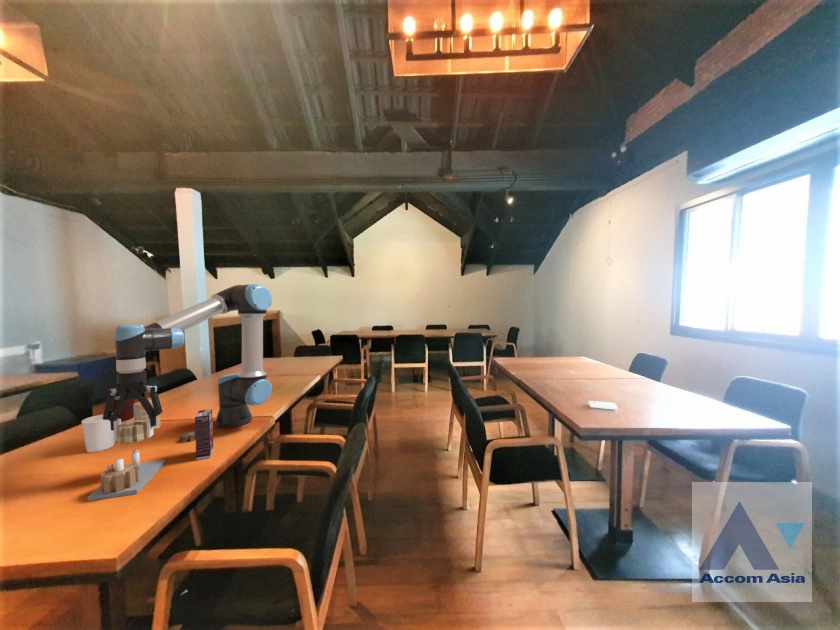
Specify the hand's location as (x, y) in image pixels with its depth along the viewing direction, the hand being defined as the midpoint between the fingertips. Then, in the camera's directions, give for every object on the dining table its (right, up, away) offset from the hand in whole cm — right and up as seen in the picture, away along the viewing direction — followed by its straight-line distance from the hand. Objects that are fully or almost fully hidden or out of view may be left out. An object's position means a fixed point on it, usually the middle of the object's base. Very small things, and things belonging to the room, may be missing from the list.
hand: (134, 437), depth 115 cm
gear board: (+2, -12, -5) cm, 13 cm away
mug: (-49, -10, +54) cm, 73 cm away
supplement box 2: (+16, -11, +13) cm, 23 cm away
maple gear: (0, 0, 0) cm, 0 cm away
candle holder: (-31, -12, +21) cm, 39 cm away
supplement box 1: (-26, -11, +38) cm, 47 cm away
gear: (0, -11, +27) cm, 29 cm away
